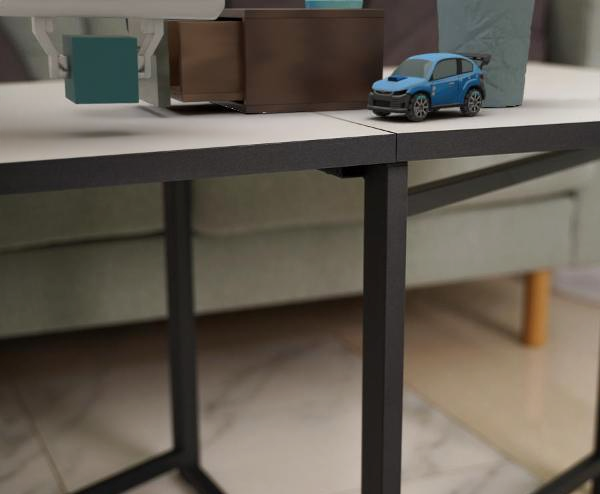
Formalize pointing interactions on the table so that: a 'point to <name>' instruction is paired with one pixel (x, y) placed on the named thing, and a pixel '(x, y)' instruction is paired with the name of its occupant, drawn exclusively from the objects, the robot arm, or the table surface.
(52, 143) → the table surface
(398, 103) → the toy car
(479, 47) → the grey-green crumpled block
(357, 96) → the cabinet
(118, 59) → the block
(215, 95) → the drawer
